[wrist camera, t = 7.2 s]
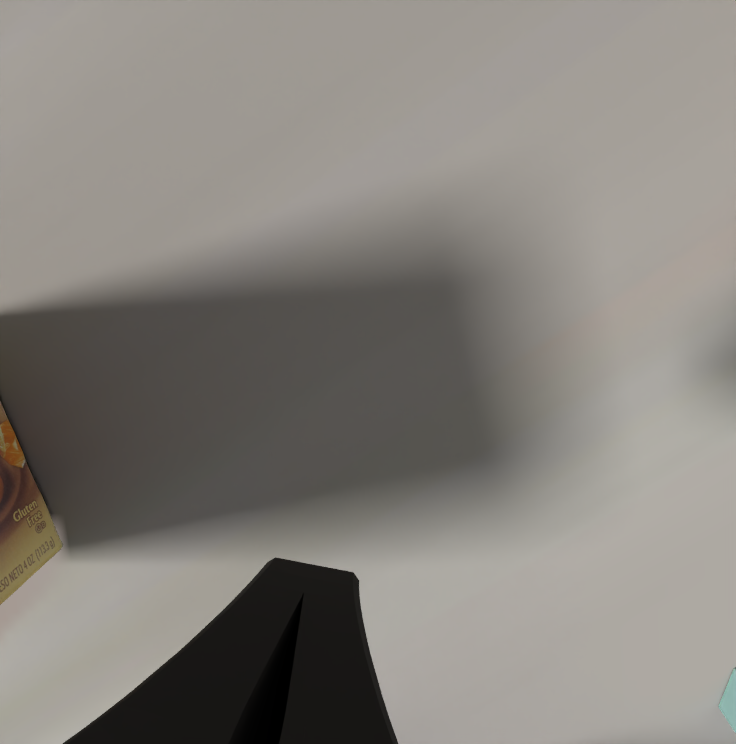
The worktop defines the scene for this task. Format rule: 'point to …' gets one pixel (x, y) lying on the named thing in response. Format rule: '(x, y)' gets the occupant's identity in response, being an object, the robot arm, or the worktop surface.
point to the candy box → (21, 517)
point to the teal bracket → (730, 701)
